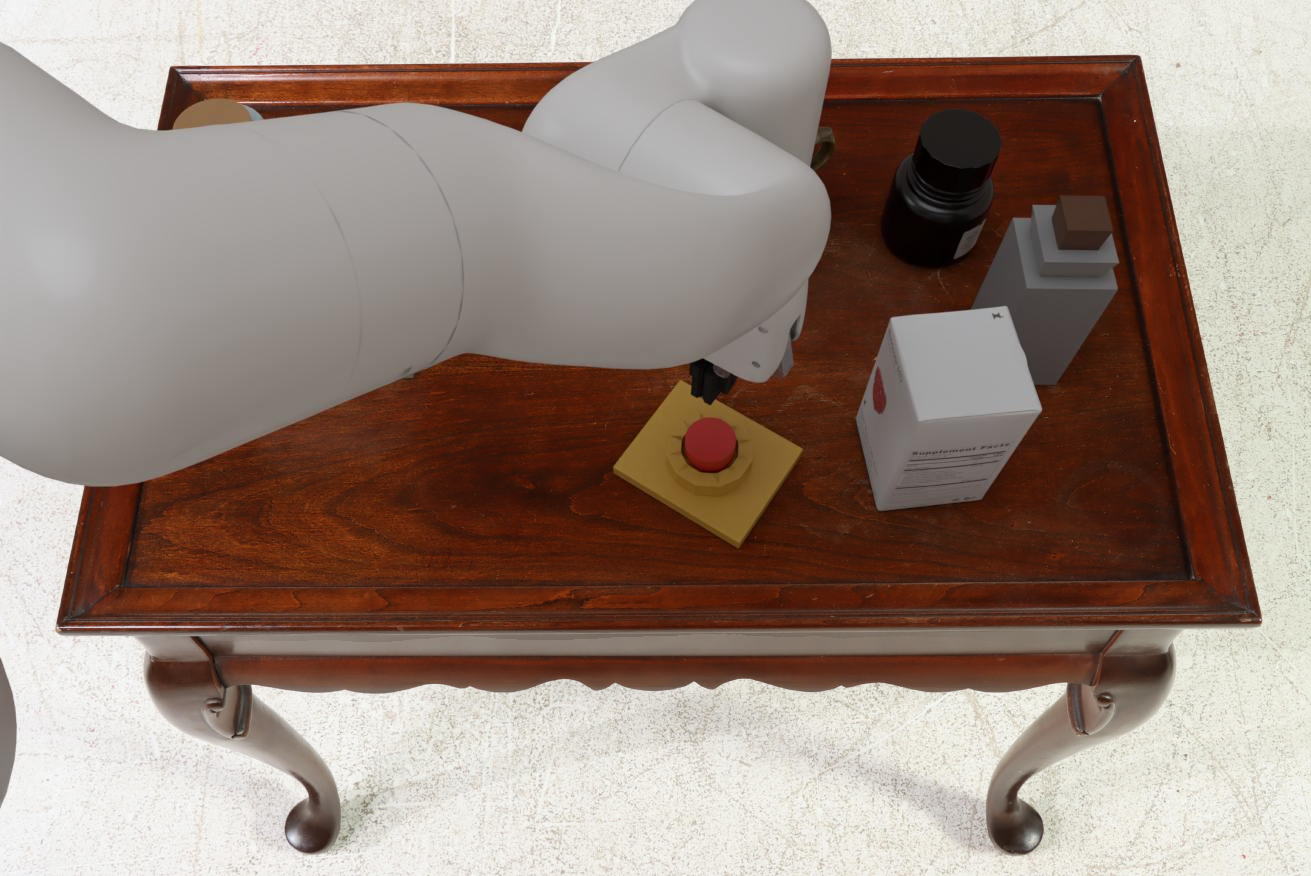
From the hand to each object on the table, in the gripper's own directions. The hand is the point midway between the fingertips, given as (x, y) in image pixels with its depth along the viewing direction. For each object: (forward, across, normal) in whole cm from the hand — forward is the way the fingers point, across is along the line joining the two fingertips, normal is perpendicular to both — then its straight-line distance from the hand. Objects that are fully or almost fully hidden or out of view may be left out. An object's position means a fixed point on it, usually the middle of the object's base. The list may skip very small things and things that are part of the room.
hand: (711, 385), depth 73 cm
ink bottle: (+12, +4, +33) cm, 35 cm away
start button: (+10, 0, +1) cm, 10 cm away
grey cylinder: (+13, -36, -7) cm, 39 cm away
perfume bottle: (+13, +16, +25) cm, 32 cm away
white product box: (+13, +14, +11) cm, 22 cm away
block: (+13, 0, +1) cm, 13 cm away
